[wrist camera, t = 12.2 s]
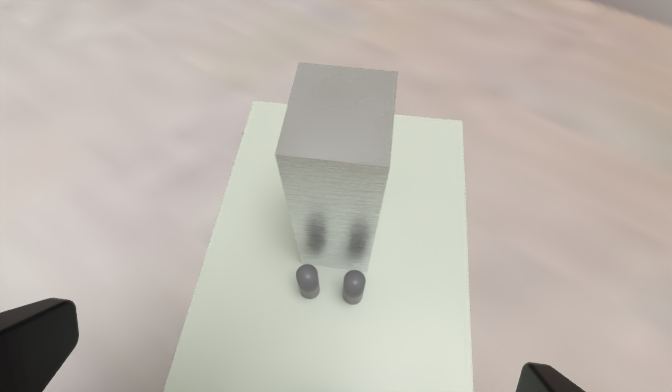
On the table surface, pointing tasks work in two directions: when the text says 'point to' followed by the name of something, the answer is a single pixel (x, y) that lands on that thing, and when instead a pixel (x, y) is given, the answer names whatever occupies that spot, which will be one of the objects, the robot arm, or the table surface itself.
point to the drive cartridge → (336, 161)
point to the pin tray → (334, 281)
